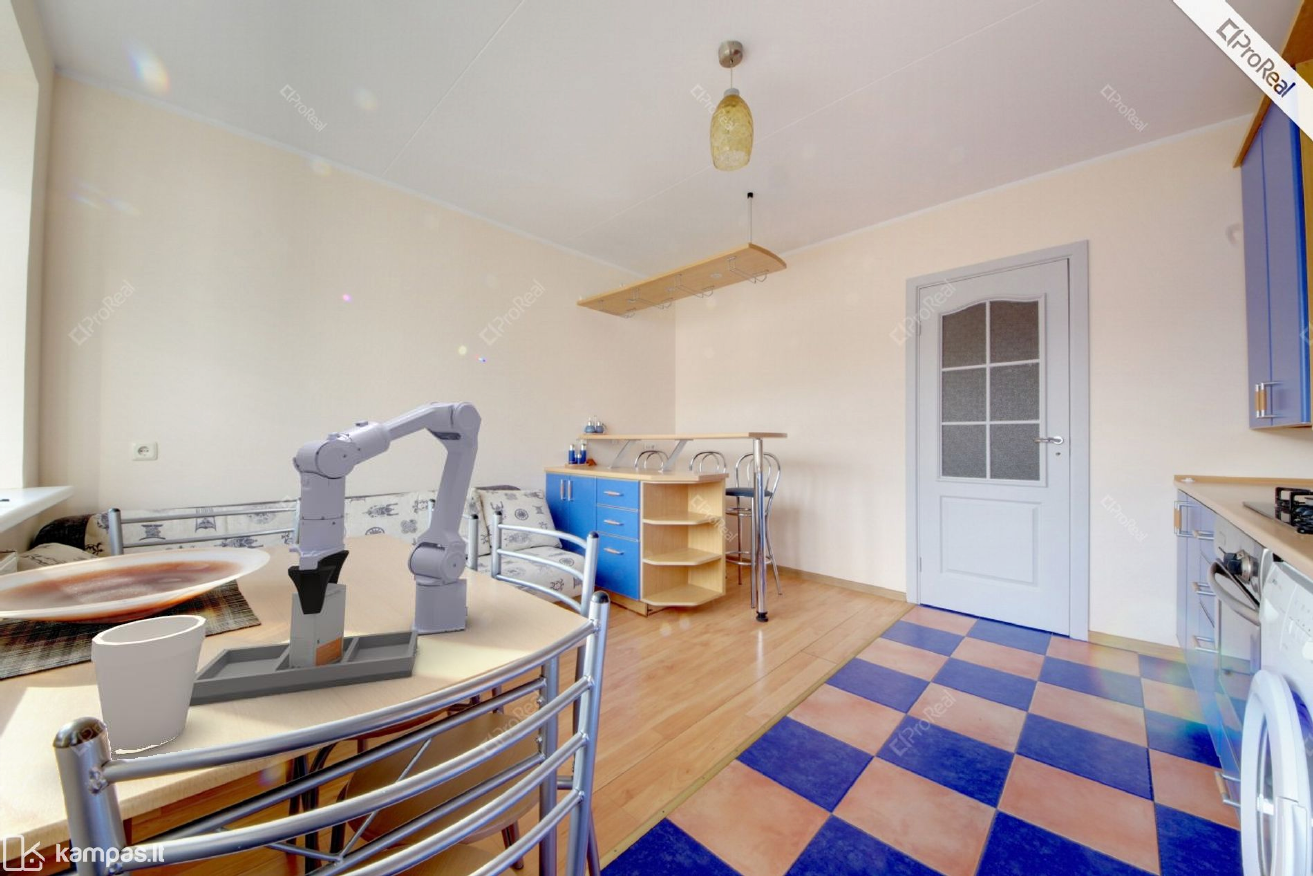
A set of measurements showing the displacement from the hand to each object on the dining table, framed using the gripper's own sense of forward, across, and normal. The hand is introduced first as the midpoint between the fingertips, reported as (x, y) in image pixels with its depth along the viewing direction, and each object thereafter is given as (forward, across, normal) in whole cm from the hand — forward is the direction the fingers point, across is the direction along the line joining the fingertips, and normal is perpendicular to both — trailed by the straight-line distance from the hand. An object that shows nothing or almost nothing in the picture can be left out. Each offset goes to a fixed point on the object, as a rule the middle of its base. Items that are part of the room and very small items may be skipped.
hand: (319, 605), depth 76 cm
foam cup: (+11, +13, -14) cm, 22 cm away
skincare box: (+10, 0, 0) cm, 10 cm away
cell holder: (+10, 0, 0) cm, 10 cm away
